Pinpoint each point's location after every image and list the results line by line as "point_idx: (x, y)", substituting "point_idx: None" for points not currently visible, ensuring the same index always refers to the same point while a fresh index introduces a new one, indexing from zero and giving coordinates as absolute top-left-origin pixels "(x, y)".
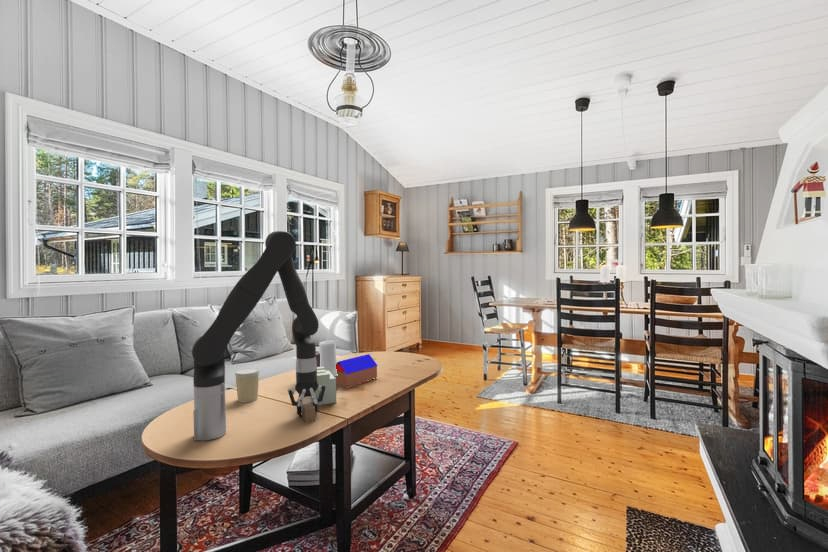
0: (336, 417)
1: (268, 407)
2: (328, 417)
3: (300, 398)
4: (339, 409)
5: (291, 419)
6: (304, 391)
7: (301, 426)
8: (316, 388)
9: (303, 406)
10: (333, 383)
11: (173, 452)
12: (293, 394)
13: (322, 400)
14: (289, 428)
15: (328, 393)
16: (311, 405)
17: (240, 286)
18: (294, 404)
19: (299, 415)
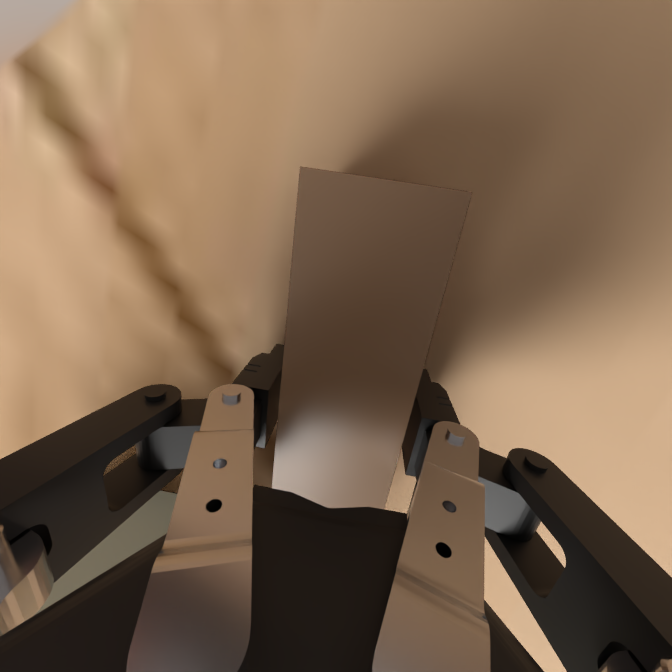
0: (115, 154)
1: (520, 639)
2: (189, 205)
3: (469, 496)
4: (74, 339)
5: (500, 361)
6: (413, 631)
7: (511, 107)
8: (42, 621)
9: (421, 365)
10: None
11: None
12: (617, 656)
13: (168, 524)
14: (646, 127)
15: (77, 567)
16: (319, 314)
17: None
18: (528, 455)
19: (426, 372)
